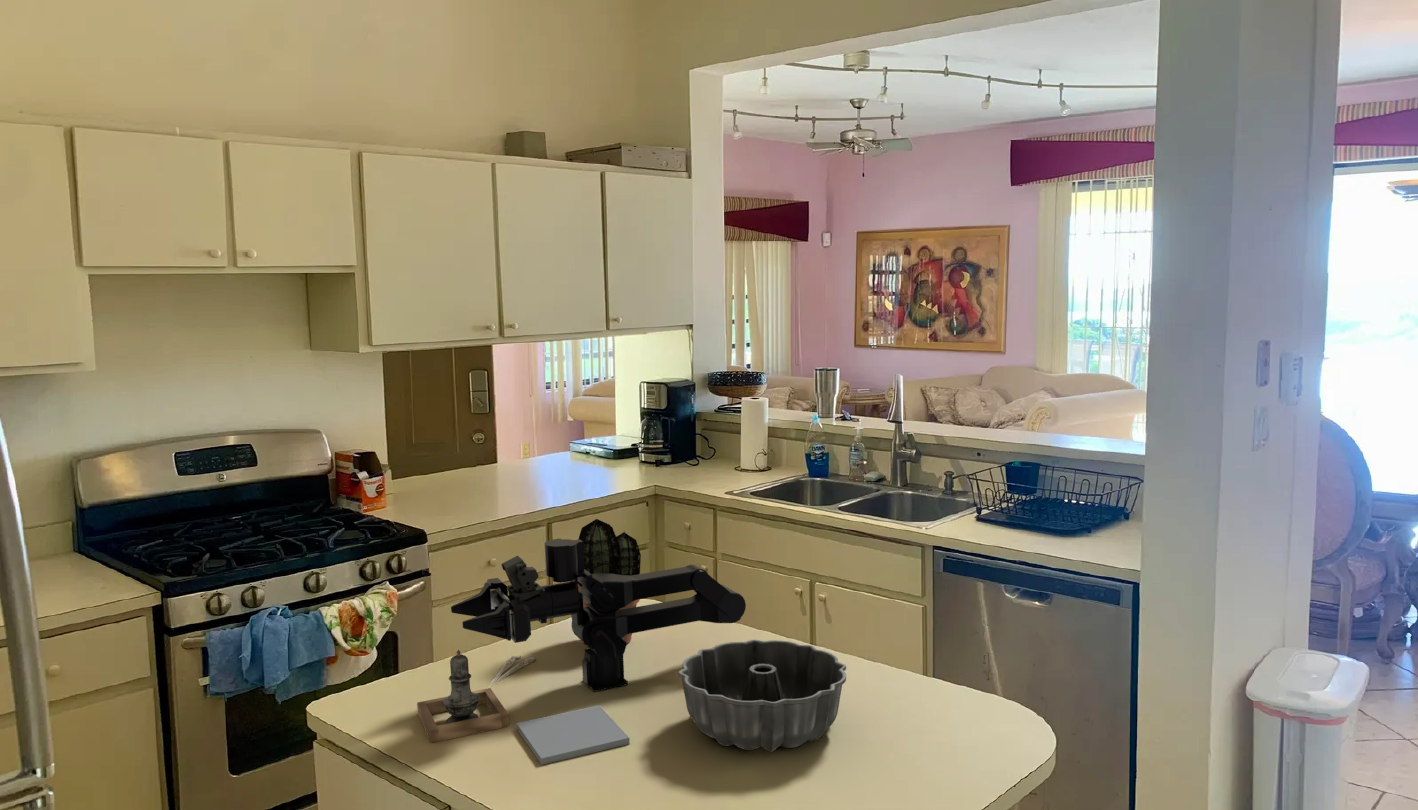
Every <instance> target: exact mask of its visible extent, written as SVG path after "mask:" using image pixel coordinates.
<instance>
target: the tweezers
mask: <svg viewBox="0 0 1418 810" xmlns="http://www.w3.org/2000/svg"><path fill="white" fill-rule="evenodd" d="M521 658H522V655H517V656H516V655H513V656H511V657H510V658H509V659H507V660H506V662H505V664H504V665H503V667H502V668H501V669H500V671H499V672H498V673H497V674H496V676H495V677H494V679H492V680H491V682H490V683H489V685H488V687H490V686H491V687H493V686H494V685H496V684H497V683H499V682H501V681H502V680H504V679H505V678H506V677H508V676H509V675H511V674H513V673H515V672H516V671H517V670H520V669H521V668H523V667H525V666H526V665H528V664H531V663H532V662H534V661H536V658H535V657H532V656H530V657H527V658H526V659H523V660H522V661H521V662H519V663H518V664H516V665H514V666H513V667H512V668H511V669H509V668H510V667H511V666H512V664H513V663H515V662H516V661H517V660H520V659H521ZM507 669H509V670H508V671H507ZM505 671H506V672H505ZM504 672H505V673H504ZM503 673H504V674H503ZM502 674H503V675H502ZM501 675H502V676H501Z"/></svg>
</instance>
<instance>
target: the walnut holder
mask: <svg viewBox="0 0 1418 810" xmlns="http://www.w3.org/2000/svg"><path fill="white" fill-rule="evenodd" d="M471 692H473V693H476V694H478V695H479V696H480V699H479V700H478V705H483V704H486V705H487V707H488V708H489V710H490V711H491V713H492V714H488V715H484V716H483V715H482V716H479V717H478V718H473V719H468V720H464V721H459V722H454V723H449V724H447V723H445V724H441V725H437V723H436V722H435V719H434V717H433V714H434V715H435V714H438V713H442V712H448V711H447V710H446V708H445V705H444V704H443V700H444V699H445V698H446V697H448V696H449V695H448V696H442V697H438V698H433V699H428V700H423V701H418V702H417V703H416V707H417V715H418V717H419V720H420V722H421V724H422V725H423V728H424V730H425V732H426V734H427V737H428V739H429V740H430V741H429V742H430V743H431V744H433V743H437V742H441V741H446V740H447V741H448V740H451V739H455V738H460V737H464V736H469V735H470V736H471V735H473V734H478V733H483V732H488V731H493V730H497V729H501V728H506V727H509V726H510V717H509V716H510V715H509V712H508V711H507V710H506V708H505V707H504V705H503V704H502V702H501V701H500V700H499V698H498V697H497V695H496V694H495V693H494V691H493V690H492V688H491V687H490V688H489V687H486V688H483V689H478V690H473V691H472V690H471Z"/></svg>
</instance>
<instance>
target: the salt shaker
mask: <svg viewBox="0 0 1418 810" xmlns="http://www.w3.org/2000/svg"><path fill="white" fill-rule="evenodd" d="M455 653H456V654H454V655H453V656H452V657H451V658H450V661H449V664H450V665H449V666H450V676H449V677H448V680H449V681H450V687H451V689H450V691H451V692H450V695H448V697H447V696H445V697H446V698H445V699H444V700H443V704H444V705H445V708H446V710H447V711H446V712H447V713H448V714H449V715H450V716H449V717H447V719H446V723H445V724H449V723H454V722H459V721H464V720H468V719H473V718H478V717H480V715H479V714H478V713H474V712H475V711H476V709H477V708H478V705H479V704H478V700H479V699H480V696H479V695H478V694H476V693H473V692H472V689H471V682H470V681H471V678H472V674H471V673H469V671H470V670H469V659H468V657H467V656H466V654H462V653H461V651H460V650H459V649H458V650H457V651H456V652H455Z"/></svg>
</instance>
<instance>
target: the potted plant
mask: <svg viewBox="0 0 1418 810" xmlns="http://www.w3.org/2000/svg"><path fill="white" fill-rule="evenodd" d="M577 540H581V541H583V542H584V569H585V570H586V571H588V572H589V573H591V574H595V573H605V574H618V575H628V576H631V575H638V574H641V556H642V554H641V551H640V547H639V544H638V542H637V539H635V538H634V537H632V536H631V535H629V534H628V533H626V532H625V531H623V532H622V533H620V534H618V535H616V533H615V530H614V528H613V526H611V524H610V523H607V522H606V521H605V522H604V521H603V520H601V519H598V518H595V519H594V520H592V521H591V522H589V523H587V524H585V525H584V526H583V527H581V530H580V533H579V536H578V538H577ZM578 590H579V592H581V587H580V586H579V584H578ZM640 601H641V599H638V600H636V601H633V602H631V603H630V604H628V605H627V606H625V607H623V608H620V609H628V608H634V607H637V605H638V603H639V602H640ZM585 607H588V606H587V603H586V602H585V601H584V600H583V608H585ZM632 635H633V633H632V634H628V635H626V636H625V637H623V638H622V639H623V640H624V641H625V642H626V643H627V645H628V644H629V643H630V642H631V641H632Z"/></svg>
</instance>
